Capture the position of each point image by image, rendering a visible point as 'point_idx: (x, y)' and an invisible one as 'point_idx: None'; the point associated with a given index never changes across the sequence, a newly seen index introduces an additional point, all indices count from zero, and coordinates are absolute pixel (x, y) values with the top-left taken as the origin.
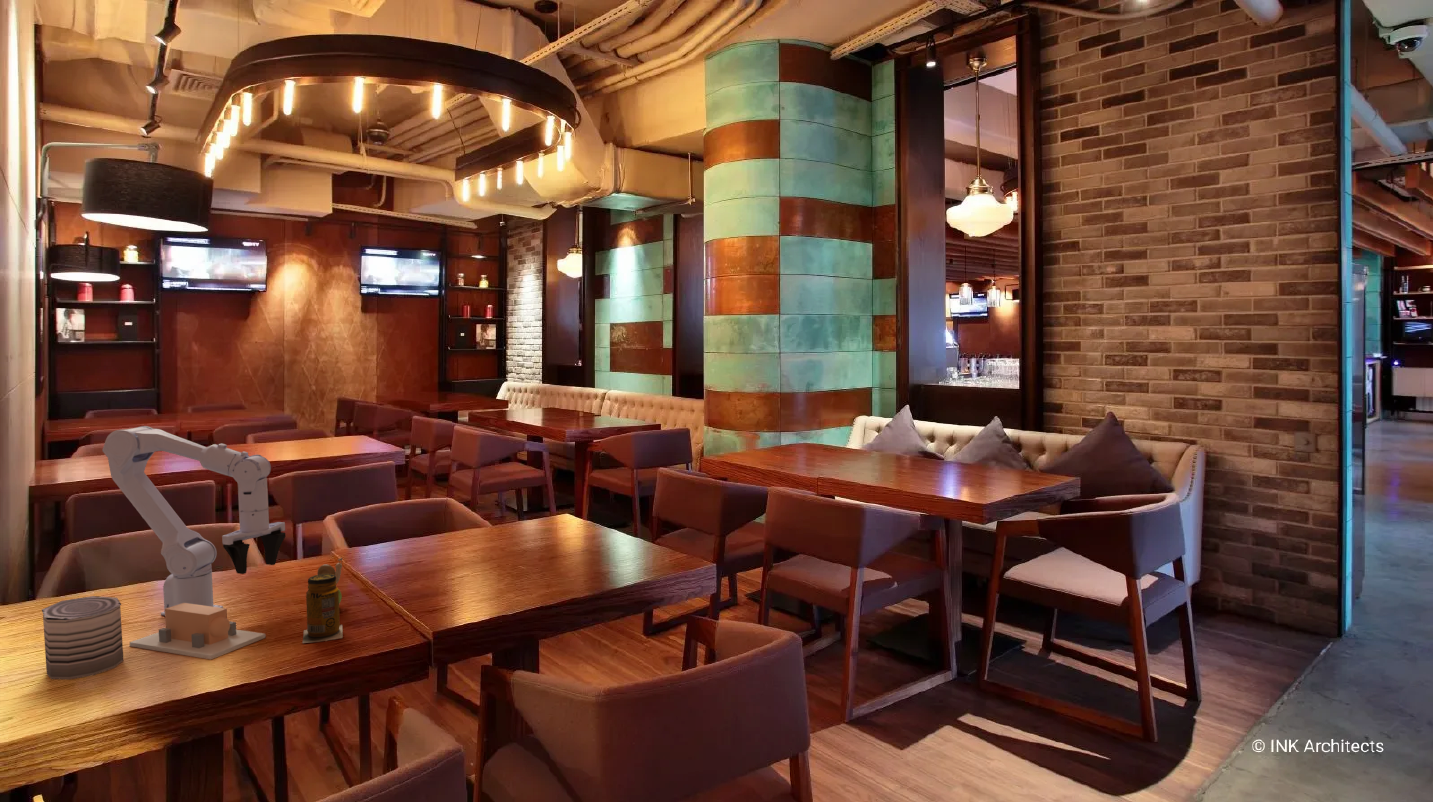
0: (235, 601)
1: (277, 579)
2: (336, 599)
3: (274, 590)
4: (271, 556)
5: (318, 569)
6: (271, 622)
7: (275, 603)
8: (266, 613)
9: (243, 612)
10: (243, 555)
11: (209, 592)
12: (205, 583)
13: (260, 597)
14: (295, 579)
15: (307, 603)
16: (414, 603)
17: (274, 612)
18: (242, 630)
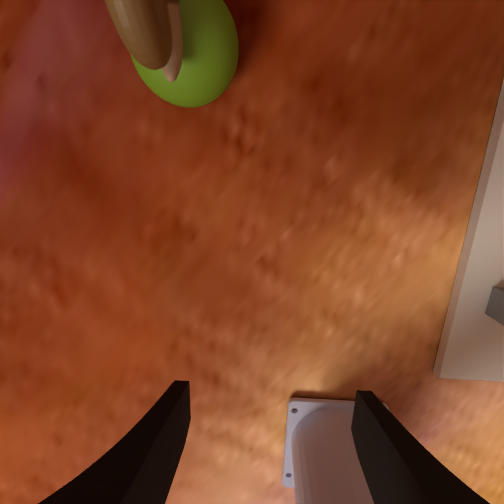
0: (230, 412)
1: (49, 453)
2: None
3: (120, 392)
4: (173, 429)
5: (152, 31)
6: (364, 161)
7: (208, 300)
8: (292, 251)
9: (301, 323)
10: (458, 489)
11: (335, 456)
12: (363, 493)
13: (181, 380)
14: (24, 413)
15: None
16: None
17: (278, 234)
18: (493, 157)
